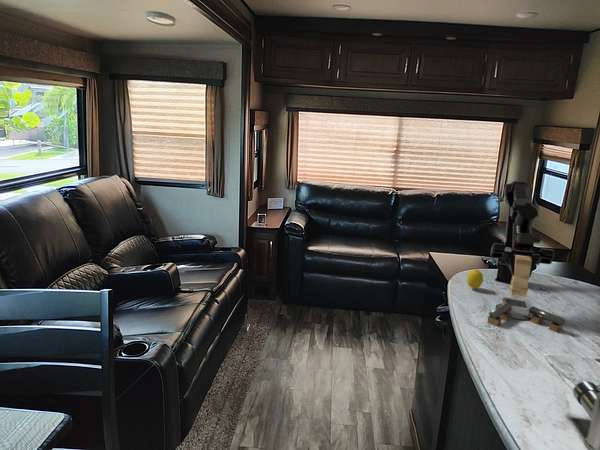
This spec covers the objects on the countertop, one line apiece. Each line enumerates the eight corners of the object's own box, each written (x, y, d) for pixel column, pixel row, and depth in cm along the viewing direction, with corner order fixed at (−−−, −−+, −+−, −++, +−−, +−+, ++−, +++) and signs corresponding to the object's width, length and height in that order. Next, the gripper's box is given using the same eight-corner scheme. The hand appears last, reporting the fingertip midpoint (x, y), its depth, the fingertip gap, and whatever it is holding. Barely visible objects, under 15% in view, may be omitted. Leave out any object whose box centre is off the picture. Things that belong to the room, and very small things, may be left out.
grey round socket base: (494, 302, 158) (495, 294, 157) (531, 308, 154) (533, 299, 153) (496, 316, 146) (498, 307, 146) (537, 322, 143) (539, 313, 142)
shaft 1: (502, 314, 148) (504, 302, 147) (511, 318, 145) (513, 305, 144) (486, 322, 142) (488, 309, 141) (496, 326, 139) (498, 313, 138)
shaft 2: (526, 319, 145) (529, 307, 144) (533, 317, 146) (535, 305, 145) (557, 332, 136) (559, 319, 135) (563, 330, 138) (565, 317, 137)
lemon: (479, 286, 173) (481, 267, 171) (483, 292, 167) (486, 271, 166) (464, 285, 173) (466, 266, 171) (468, 291, 168) (470, 270, 166)
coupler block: (509, 290, 151) (514, 254, 149) (524, 292, 150) (530, 256, 147) (511, 294, 147) (516, 258, 144) (526, 297, 146) (532, 260, 143)
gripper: (495, 219, 150) (493, 260, 142) (558, 225, 144) (560, 268, 136) (491, 237, 159) (489, 276, 151) (550, 243, 153) (551, 284, 145)
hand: (521, 276), depth 146 cm, fingers closed on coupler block, 4 cm apart
